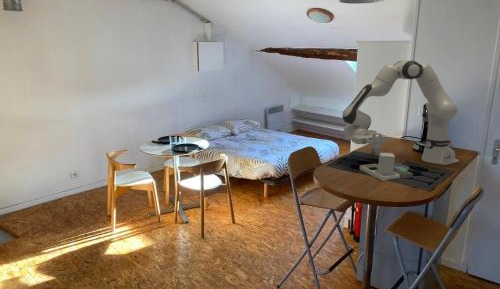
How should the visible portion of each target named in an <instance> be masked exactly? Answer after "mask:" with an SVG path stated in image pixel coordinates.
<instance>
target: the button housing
mask: <svg viewBox="0 0 500 289" xmlns="http://www.w3.org/2000/svg"><path fill="white" fill-rule="evenodd" d="M394 172H395V173H397V174H399V175H400V178H399V179H403V180H404V179H412V178H413V175H414V174H413V172H410V171H408V170H407V173H406V174H402V173H400V172H399V170H394Z"/></svg>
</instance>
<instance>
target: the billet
mask: <svg viewBox="0 0 500 289" xmlns="http://www.w3.org/2000/svg"><path fill="white" fill-rule="evenodd" d="M381 134H382V133H380V134H373V137H372V141H374V144H371V148H370V155H375V156H379V154H380V153H381V148H382V143H381V140H382V135H381Z"/></svg>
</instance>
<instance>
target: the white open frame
mask: <svg viewBox="0 0 500 289" xmlns="http://www.w3.org/2000/svg"><path fill="white" fill-rule="evenodd" d="M370 168H376V169H375V170H373V169H370ZM359 171H362V172H364V173H366V174H368V175H370V176H371V177H374V178H376V179H378V180H379V181H381V182H386V181H387V182H388V181H390V180H393V179H401V178H400V175H399V174H397V173H395V172H393V175H390V176H382V175H380V174H378V163H369V164H361V165H359Z"/></svg>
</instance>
